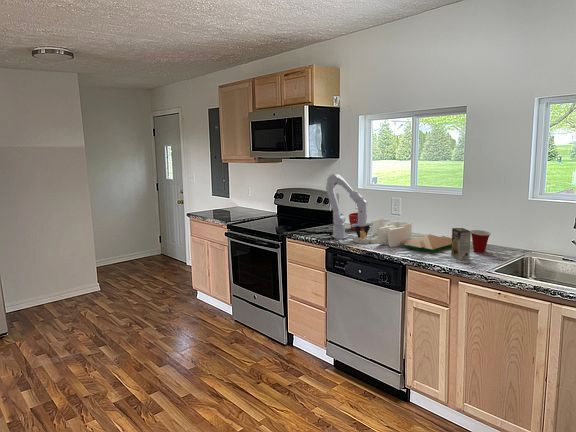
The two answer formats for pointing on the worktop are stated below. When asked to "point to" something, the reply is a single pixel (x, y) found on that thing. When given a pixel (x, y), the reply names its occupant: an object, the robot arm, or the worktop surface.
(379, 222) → the white slotted rack
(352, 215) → the plant pot
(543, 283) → the worktop surface
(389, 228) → the cable organizer
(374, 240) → the frame
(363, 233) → the orange block
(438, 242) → the house
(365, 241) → the clip
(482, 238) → the plastic cup
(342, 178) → the robot arm
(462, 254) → the coffee box
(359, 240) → the clip
